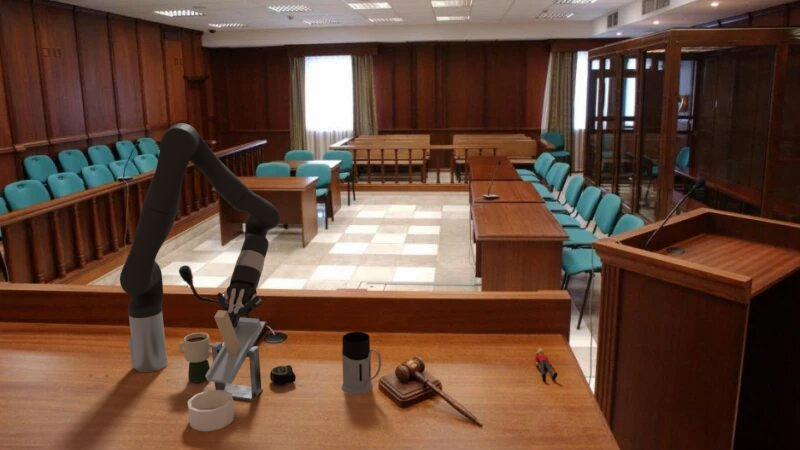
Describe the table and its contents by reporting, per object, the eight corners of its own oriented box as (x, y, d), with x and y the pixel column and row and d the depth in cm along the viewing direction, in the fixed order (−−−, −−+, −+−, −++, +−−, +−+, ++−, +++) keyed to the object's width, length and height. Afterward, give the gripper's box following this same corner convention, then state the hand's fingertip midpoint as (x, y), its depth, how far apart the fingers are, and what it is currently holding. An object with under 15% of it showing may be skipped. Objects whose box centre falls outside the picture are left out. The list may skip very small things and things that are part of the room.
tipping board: (204, 382, 166) (186, 341, 157) (237, 326, 181) (222, 286, 172) (235, 385, 164) (218, 344, 155) (265, 329, 179) (251, 288, 170)
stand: (212, 396, 174) (208, 348, 170) (224, 385, 179) (220, 339, 176) (254, 401, 171) (250, 353, 167) (264, 390, 176) (261, 344, 173)
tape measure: (296, 385, 180) (295, 373, 179) (272, 389, 178) (271, 377, 177) (292, 374, 186) (292, 363, 185) (269, 378, 184) (268, 366, 183)
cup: (180, 429, 158) (178, 409, 157) (205, 406, 169) (203, 387, 167) (219, 434, 155) (217, 414, 154) (241, 411, 166) (240, 392, 165)
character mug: (223, 374, 186) (219, 333, 183) (212, 386, 179) (209, 343, 176) (188, 372, 188) (184, 331, 184) (176, 383, 181) (172, 341, 178)
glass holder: (358, 376, 184) (357, 328, 181) (392, 393, 175) (392, 342, 171) (335, 386, 178) (333, 337, 175) (368, 405, 169) (367, 353, 165)
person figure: (542, 368, 180) (534, 341, 197) (537, 379, 181) (530, 352, 198) (559, 373, 180) (550, 346, 197) (554, 385, 181) (545, 357, 198)
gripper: (221, 262, 175) (201, 320, 167) (265, 265, 172) (247, 325, 164) (232, 274, 182) (213, 331, 173) (274, 277, 179) (258, 335, 170)
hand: (230, 328), depth 169 cm, fingers closed
